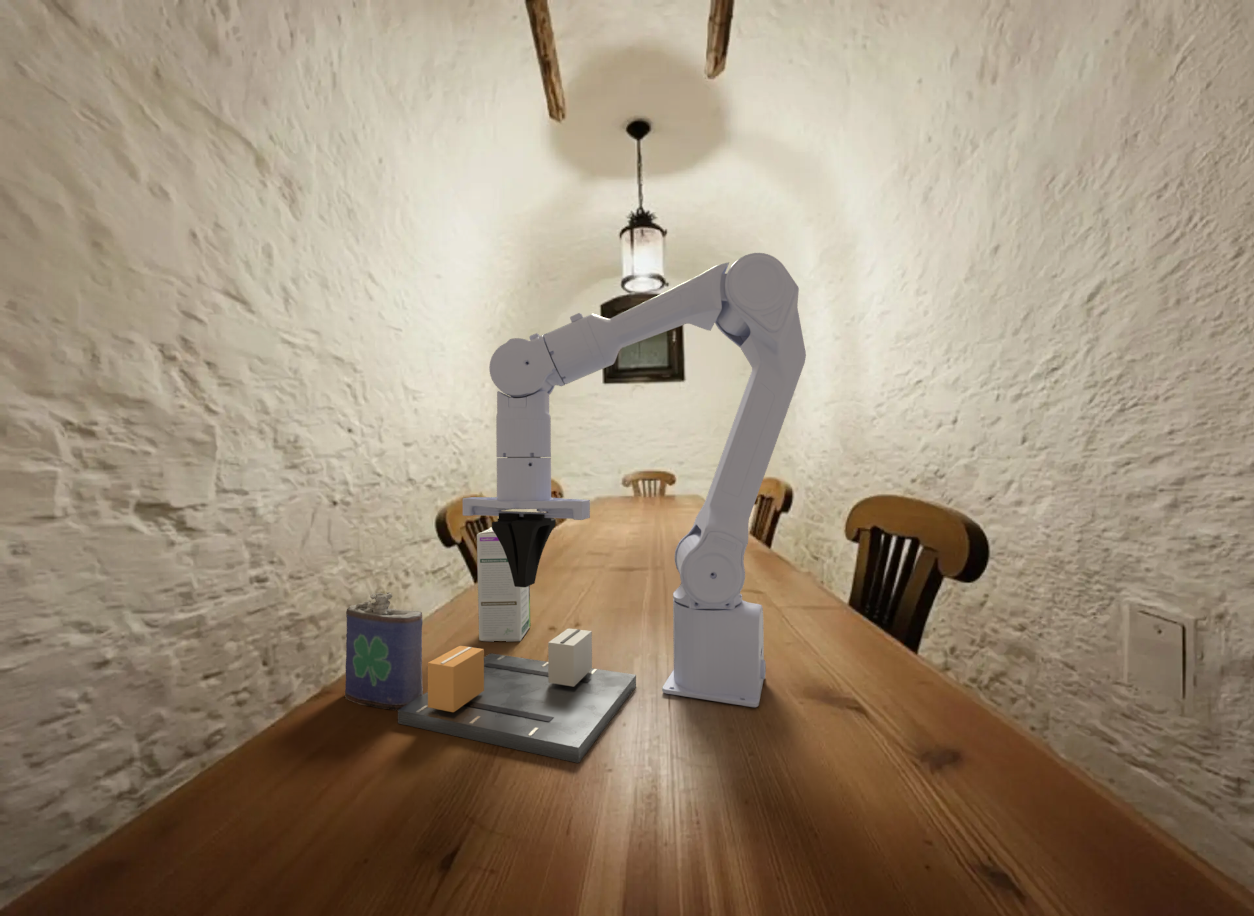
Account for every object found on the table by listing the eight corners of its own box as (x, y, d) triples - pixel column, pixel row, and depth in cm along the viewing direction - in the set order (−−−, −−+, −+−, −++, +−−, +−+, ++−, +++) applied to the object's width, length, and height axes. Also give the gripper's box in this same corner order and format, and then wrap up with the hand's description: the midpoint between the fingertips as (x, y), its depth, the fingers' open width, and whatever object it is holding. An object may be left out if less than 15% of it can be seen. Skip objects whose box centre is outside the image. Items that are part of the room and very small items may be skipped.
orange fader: (483, 690, 48) (483, 648, 48) (453, 712, 44) (453, 665, 44) (459, 686, 49) (459, 644, 49) (427, 707, 45) (427, 661, 45)
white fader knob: (591, 668, 53) (591, 630, 53) (573, 686, 49) (573, 644, 49) (568, 665, 54) (568, 627, 54) (548, 682, 50) (548, 641, 50)
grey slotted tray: (636, 686, 52) (635, 674, 52) (578, 763, 39) (578, 747, 39) (490, 663, 58) (490, 652, 58) (397, 723, 45) (397, 709, 45)
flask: (428, 701, 49) (427, 593, 49) (405, 716, 46) (404, 601, 46) (360, 686, 52) (359, 585, 52) (335, 699, 50) (334, 592, 50)
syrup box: (521, 642, 65) (521, 531, 65) (476, 642, 65) (476, 531, 65) (530, 627, 71) (530, 525, 71) (489, 627, 71) (489, 525, 71)
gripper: (443, 458, 52) (443, 588, 52) (568, 457, 47) (569, 600, 47) (484, 458, 58) (484, 573, 58) (597, 457, 54) (598, 583, 53)
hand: (524, 585), depth 53 cm, fingers closed
